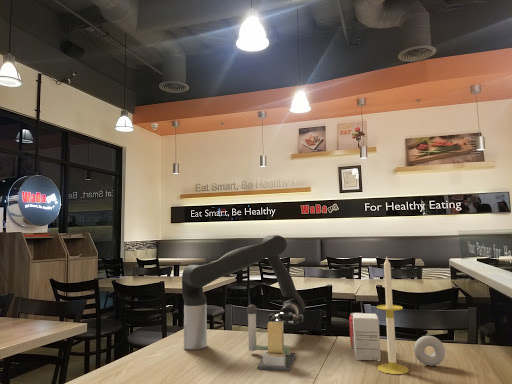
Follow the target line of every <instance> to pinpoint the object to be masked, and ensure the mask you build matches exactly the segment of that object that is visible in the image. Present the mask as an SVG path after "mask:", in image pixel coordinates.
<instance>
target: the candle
mask: <svg viewBox="0 0 512 384" xmlns="http://www.w3.org/2000/svg"><path fill="white" fill-rule="evenodd" d="M383 271H384V272H383V274H384V290H385V291H384V292H385V304H379V305H376V307H375V308H376V309H378V310H380V311H381V310H382V311H385V320H386V339H387V357H388V363H381V364H379V365H377V366H376V369H377V368H378V369H377V370H378V371H379V370H380V371H382V372H381V373H383V372H384V374H385V373H390V374H389V375H391V374H403V375H405V374H404V373H407V372H408V371H409V372H410V370H409V369H408V367H406V366H403V365H401V364H397V349H396V332H395V331H396V330H395V315H394V314H395V313H394V311H402V310H403V309H404V308H403V306H401V305H397V304H393V290H392V289H393V288H392V287H393V286H392V285H393V284H392V270H391V262H390V261H389V258H388V257H385V261H384V263H383ZM380 371H379V372H380ZM409 372H408V373H409ZM408 373H407V374H408Z"/></svg>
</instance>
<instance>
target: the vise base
mask: <svg viewBox="0 0 512 384" xmlns="http://www.w3.org/2000/svg"><path fill="white" fill-rule="evenodd" d="M295 358H296V352H290V355H286V354H270V353H268V351H266V352H265V353H263V355H262V359H260V361H259V363H258V365H257V366H256V367H257V368H256V369H257V370H261V371H262V370H263V371H283V372H290V371H291V368H292V366H293V363H294V361H295Z"/></svg>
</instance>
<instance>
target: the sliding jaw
mask: <svg viewBox="0 0 512 384" xmlns="http://www.w3.org/2000/svg"><path fill="white" fill-rule="evenodd" d="M257 312H258V307H257V305H255V304H248V305H247V307H246V313H247V321H248V323H247V327H248V328H247V330H248V331H247V332H248V335H247V336H248V351H250V352H255V351H268V345H265V344H264V345H261V344H259V345H258V344H257ZM290 353H291V345H289V344H284V354H286V355H290Z"/></svg>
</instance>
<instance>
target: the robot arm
mask: <svg viewBox="0 0 512 384" xmlns="http://www.w3.org/2000/svg"><path fill="white" fill-rule="evenodd" d="M287 247H288V243H287V240H286V239H285V237H283V236H282V235H278V234H277V235H276V234H274V235H268V236H265V237H264V238H263V239H262V241H261V242H260V243H258V244H253V245H248V246H246V245H245V246H243V247H240V248H239V247H238V248H236V249H234V250H231V251H229V252H227V253H225V254H223V256H221V257H220V258H218V259H217V260H215V261H212V262H209V263H205V264H201V265H198V264H189V265H187V266H186V267H185V268H184V270H183V271H182V273H181V274H182V276H181V290H182V291H181V292H182V293H181V294H182V299H183V316H184V317H183V350H191V351H193V350H196V351H197V350H201V349H205V348H207V346H208V344H207V342H208V337H207V335H208V333H207V331H208V330H207V329H208V328H207V325H208V324H207V320H208V319H207V318H208V317H207V316H208V315H207V297H206V295H205V293H204V289H203V288H204V287H205V286H207V285H209V284H211V283H212V282H214V281H216V280H218V279H220V278H223V277H226V276H228V275H232V274H234V273H236V272H237V273H238V272H239V271H242V270H244V269H246V268H248V267H251V266H252V265H255V264H257V263H260V262H261V261H262V260H265V259H267V261H268V263H269V264H270V267H271V268H272V271H273V273H274V275H275V278H276V280H277V284H278V287H279V289H280V292H281V295H282V296H283V297H286V298H291V299H288V300H285V301H284V302H283V303H282V308H281V309H280V310H279V313H276V314H275V313H274V312H271V313H269V314H268V317H267V323H269V322H283V325H293V326H296V325H297V324H299V323H300V324H302V323H303V322H304V314H303V313H304V312H305V309H306V304H305V301H304V300H303V298H302V296H300V294H299V293H298V291H297V289H296V287H295V283H294V281H293V278H292V275H291V274H290V272H289V271H288V269H287V268H286V266H285V265H284V264H283V261H282V260H281V258H280V255H281V254H283V253H285V251H286V249H287Z"/></svg>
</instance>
